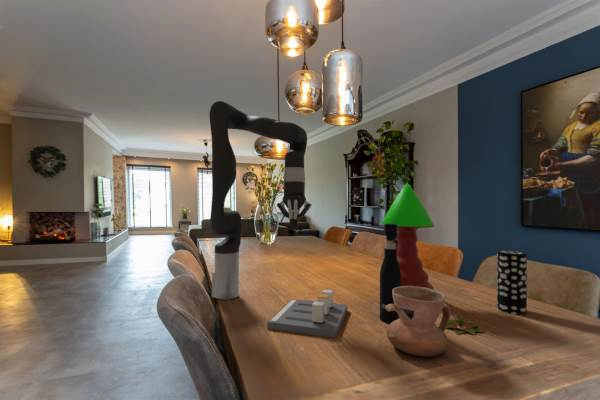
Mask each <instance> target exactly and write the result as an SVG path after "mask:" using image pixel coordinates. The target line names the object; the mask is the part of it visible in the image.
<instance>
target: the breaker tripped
mask: <svg viewBox="0 0 600 400" xmlns="http://www.w3.org/2000/svg"><path fill="white" fill-rule="evenodd" d="M317 302H325V303H324V314H326V315H327V314H328V312H329V295H327V294H322V293H319V294H318V295H317Z"/></svg>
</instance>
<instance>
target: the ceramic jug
mask: <svg viewBox="0 0 600 400" xmlns="http://www.w3.org/2000/svg"><path fill="white" fill-rule="evenodd" d="M392 295H393V301H394V304H388V305H386V306H385V308H386V310H387V311H396V312H397V313H398V315H399V317H400V318H399V319H397V320H395V321H393V322H392V323H391V324H389V325H388V326H387V328H386V335H387V338H388V341H389V342H390V344H391V345H392V346H393V347H394V348H396V349H398V350H399V351H401V352H404V353H406V354H409V355H411V356H416V357H425V358H426V357H429V358H430V357H435V356H436V357H437V356H440V355H441V354H443V353H445V351H447V349H448V347H449V338H448V336H447V335H446V333H445V331H446V330H447V328H446V327H447V325H448V322H449V320H451V314H452V313H451V307H450V306H449V305H448V304H447V303H446V302H445V299H446V298H445V295H444V294H443V293H442V292H440V291H438V290H436V289H434V290H432V289H429V288H423V287H415V286H400V287H396V288H394V289H393V290H392ZM441 312H442V317H441V320H440V322H441V323H440V322H439V325H438V326H437V324H436V322H437V320H438V319H439V316H440V314H441Z"/></svg>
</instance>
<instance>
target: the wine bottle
mask: <svg viewBox="0 0 600 400" xmlns="http://www.w3.org/2000/svg"><path fill="white" fill-rule="evenodd" d="M383 231H384V232H383V233H384V235H385V236H386V237H385V238H386V240H385V241H386V242H385V244H384V247H385V248H384V249H383V250H384V251H383V253H384V254H383V260H382V263H381V267H380V271H379V320H380V321H381V322H383V323H385V324H389V325H390V324H391V323H392V322H393V321H395V320H397V319H399V318H400V317H399V315H398V313H397V312H396V311H387V310H386V308H385V306H386V305H388V304H394V301H393V295H392V290H393V289H394V288H396V287H400V286H401V271H400V266H399V263H398V260H397V249H396V248H397V243H396V242H395V241H396V240H395V239H396V237H395V236H397V234H398V229H397V224H384V226H383Z"/></svg>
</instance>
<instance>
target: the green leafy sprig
mask: <svg viewBox="0 0 600 400" xmlns="http://www.w3.org/2000/svg"><path fill="white" fill-rule="evenodd" d="M466 314H467V313H465V314H464V315H461V316H460V315H459V314H458V313H457V312H454V313H453V315H452V318H453V319H450V320H449V322H448V325H447V327H446V329H448V328H449V329H450V328H452V330H453V331H454V333H456V334H457V335H459V334H463V333H466V332H468V333H470V334H471V335H474V336H476V332H480V333H485V330H482V329H481V328H479V327H478V325H477V324H474V323H473V322H469V319H468V318H469V315H467V316H466ZM455 316H456V317H455ZM440 323H441V321H439V324H440ZM458 326H459V327H458ZM463 327H464V328H465V329H463ZM458 329H459V330H460V331H459V330H458Z"/></svg>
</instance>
